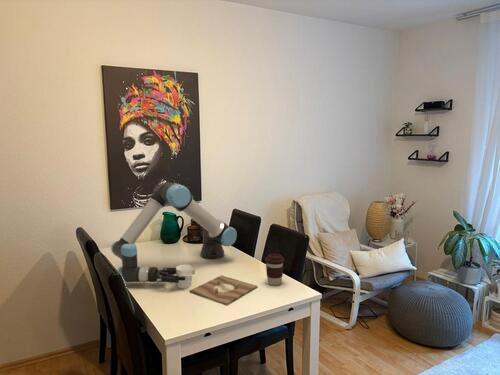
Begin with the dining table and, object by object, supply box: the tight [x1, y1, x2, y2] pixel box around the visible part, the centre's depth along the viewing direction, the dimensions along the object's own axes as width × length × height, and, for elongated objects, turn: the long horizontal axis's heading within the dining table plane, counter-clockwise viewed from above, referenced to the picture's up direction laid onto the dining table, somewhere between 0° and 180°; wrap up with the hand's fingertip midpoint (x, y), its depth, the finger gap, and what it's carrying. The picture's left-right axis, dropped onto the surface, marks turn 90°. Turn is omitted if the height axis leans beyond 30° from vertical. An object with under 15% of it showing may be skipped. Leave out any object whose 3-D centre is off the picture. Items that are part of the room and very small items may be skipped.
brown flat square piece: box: [189, 275, 258, 306], centre depth 187 cm, size 24×24×3 cm
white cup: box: [175, 264, 193, 289], centre depth 191 cm, size 8×8×10 cm
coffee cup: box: [264, 253, 285, 287], centre depth 194 cm, size 10×10×15 cm
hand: (193, 274), depth 191 cm, fingers closed on white cup, 8 cm apart
